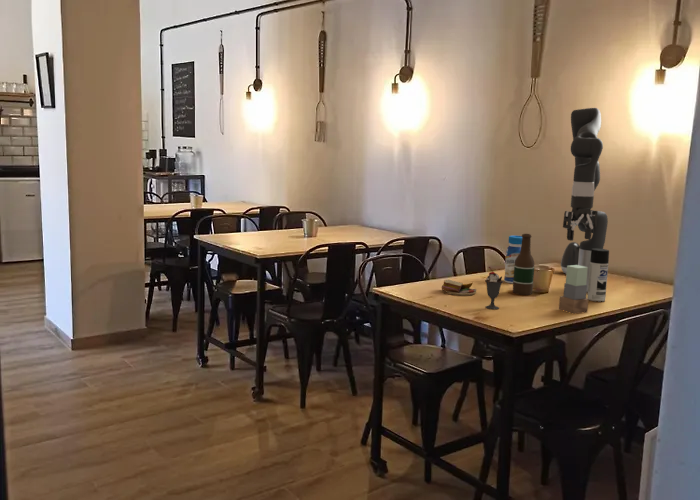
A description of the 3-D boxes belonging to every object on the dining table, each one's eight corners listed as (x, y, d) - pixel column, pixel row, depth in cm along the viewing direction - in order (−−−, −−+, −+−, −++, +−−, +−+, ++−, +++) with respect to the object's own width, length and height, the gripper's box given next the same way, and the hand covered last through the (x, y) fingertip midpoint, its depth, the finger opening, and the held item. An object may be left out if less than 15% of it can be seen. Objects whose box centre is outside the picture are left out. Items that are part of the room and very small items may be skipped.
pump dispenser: (570, 276, 310) (573, 244, 307) (555, 272, 319) (557, 240, 317) (587, 275, 314) (590, 243, 312) (571, 271, 323) (574, 240, 321)
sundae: (480, 305, 249) (483, 265, 247) (498, 305, 250) (501, 265, 247) (485, 310, 243) (488, 268, 240) (503, 310, 243) (506, 269, 241)
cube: (574, 295, 249) (575, 282, 248) (585, 298, 244) (587, 285, 244) (563, 296, 247) (564, 283, 246) (574, 300, 242) (575, 286, 241)
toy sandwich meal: (471, 298, 262) (471, 286, 261) (437, 293, 267) (438, 282, 267) (479, 292, 273) (480, 280, 272) (447, 288, 279) (448, 276, 278)
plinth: (572, 308, 251) (573, 294, 250) (587, 312, 245) (588, 299, 244) (558, 309, 248) (559, 296, 247) (573, 314, 242) (574, 300, 241)
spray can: (596, 302, 260) (601, 251, 257) (583, 298, 266) (587, 248, 263) (608, 301, 263) (613, 250, 260) (595, 297, 269) (599, 247, 266)
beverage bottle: (526, 281, 295) (529, 236, 292) (519, 285, 288) (523, 238, 285) (507, 279, 300) (510, 234, 296) (500, 282, 293) (504, 236, 289)
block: (575, 282, 248) (576, 264, 247) (586, 285, 244) (587, 267, 243) (565, 283, 246) (567, 265, 245) (576, 286, 241) (577, 268, 240)
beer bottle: (532, 295, 268) (537, 235, 264) (512, 294, 270) (517, 234, 266) (531, 291, 276) (536, 233, 272) (512, 290, 277) (516, 232, 273)
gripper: (588, 193, 247) (585, 237, 249) (560, 194, 240) (556, 239, 243) (605, 195, 240) (601, 240, 243) (576, 195, 233) (572, 242, 236)
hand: (578, 239), depth 243 cm, fingers open, 8 cm apart
